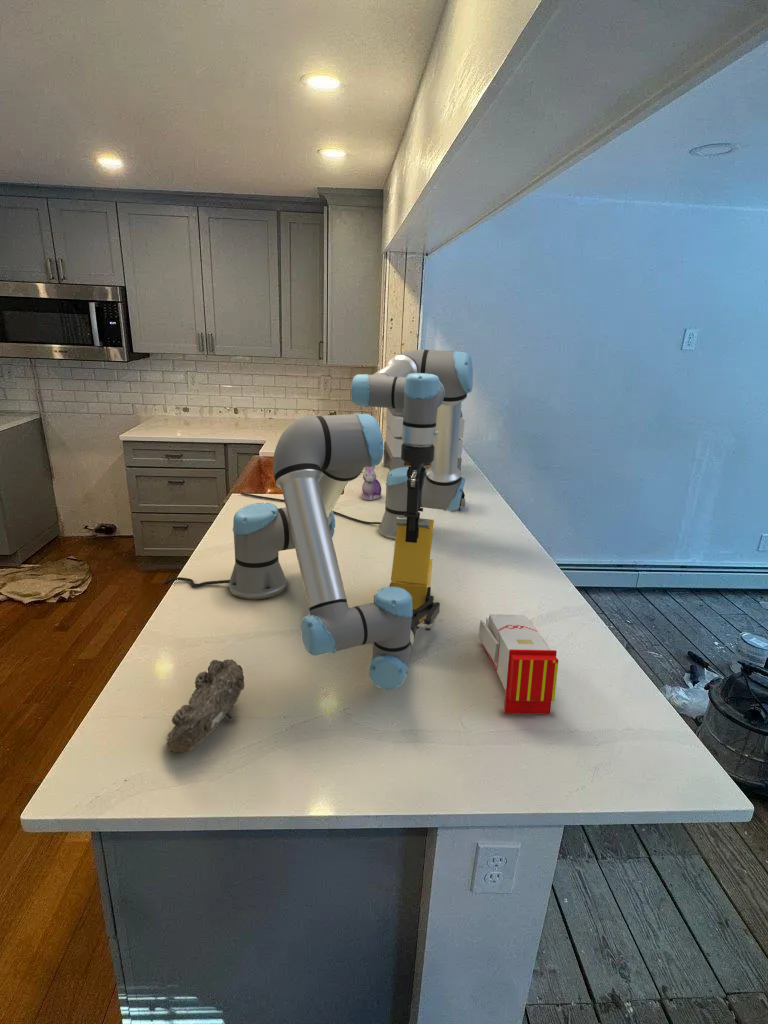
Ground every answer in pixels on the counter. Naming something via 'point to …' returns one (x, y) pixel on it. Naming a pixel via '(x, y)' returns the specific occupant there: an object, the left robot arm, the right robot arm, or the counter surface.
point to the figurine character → (462, 501)
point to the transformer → (395, 442)
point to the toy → (521, 662)
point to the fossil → (206, 705)
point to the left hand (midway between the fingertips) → (410, 589)
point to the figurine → (370, 485)
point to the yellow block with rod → (412, 553)
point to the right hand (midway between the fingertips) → (411, 539)
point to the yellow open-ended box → (416, 589)
